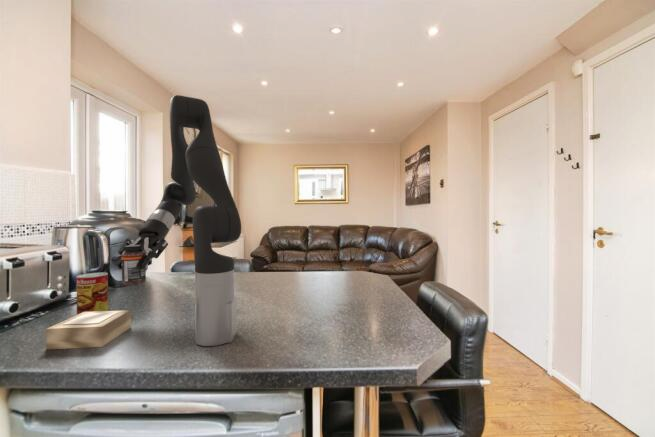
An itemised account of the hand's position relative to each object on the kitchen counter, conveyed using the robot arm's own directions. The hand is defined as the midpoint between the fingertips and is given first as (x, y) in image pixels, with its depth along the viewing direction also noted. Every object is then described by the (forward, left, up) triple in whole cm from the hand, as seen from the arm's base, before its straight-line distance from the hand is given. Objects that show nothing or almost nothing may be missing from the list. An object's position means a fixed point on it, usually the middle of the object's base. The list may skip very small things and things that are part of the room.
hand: (129, 267), depth 85 cm
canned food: (+17, -11, -16) cm, 25 cm away
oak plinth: (+3, +11, -16) cm, 19 cm away
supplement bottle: (0, -2, -5) cm, 5 cm away
